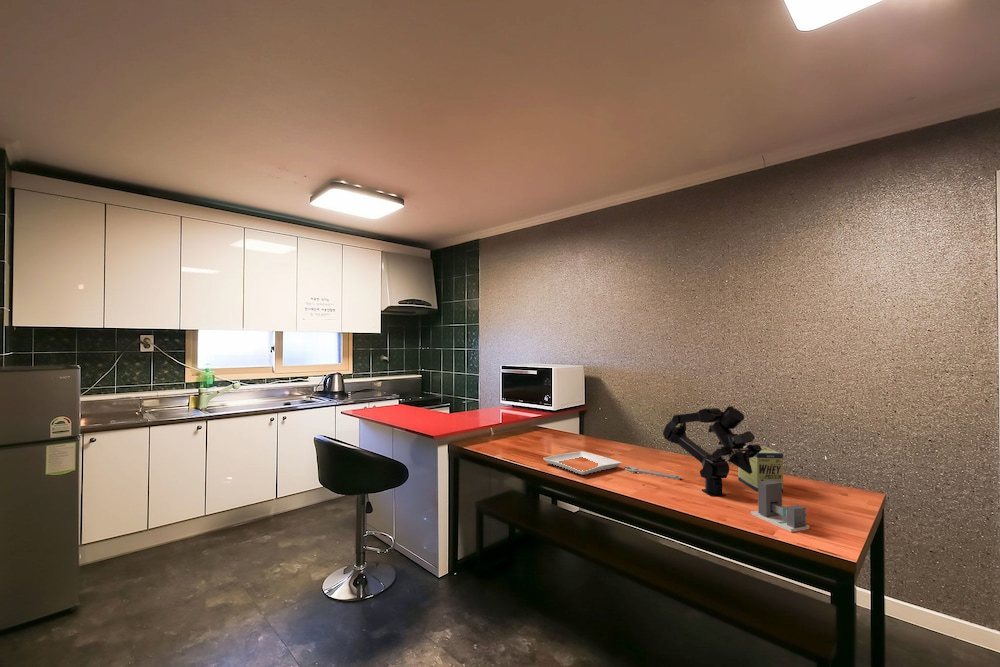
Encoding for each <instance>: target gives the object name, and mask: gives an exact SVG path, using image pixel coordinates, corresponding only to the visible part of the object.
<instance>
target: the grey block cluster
mask: <svg viewBox="0 0 1000 667" xmlns="http://www.w3.org/2000/svg"><path fill="white" fill-rule="evenodd" d="M770 510H771V511H773V512H776V513H778V514H780V515H783V516H784V517H787V525H788V526H790V527H792V528H800V527H806V525H807V508H806V507H805V506H803V505H799V504H793V505H788V506H787V505H783V504H782V505H781V504H778V503H776V502H770Z"/></svg>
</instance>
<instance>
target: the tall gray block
mask: <svg viewBox="0 0 1000 667" xmlns="http://www.w3.org/2000/svg"><path fill="white" fill-rule="evenodd" d="M757 494H758V495H757V496H758V497H757V503H758V504H757V507H758V509H757V510H759V513H760V514H762V515H764V516H773V515H779V514H778V513H776V512H773V511H771V510H770V502H776V503H778V504H781V505H783V492H782V483H781V482H778V481H775V480H770V481H761V482H758V492H757Z"/></svg>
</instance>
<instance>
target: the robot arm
mask: <svg viewBox="0 0 1000 667" xmlns="http://www.w3.org/2000/svg"><path fill="white" fill-rule="evenodd" d="M744 419H745V415H744V414H743V412H741V411H740V410H739V409H736V408H734V406H727V407H726V409H725V410H724V411H721V409H720V408H719V407H712V408H711V407H708V408H706V407H705V408H702V409H699V410H698V411H697V412H692V413H691V412H690V413H679V414H674V415H673V416H672V419H670V421H669V422H668V423H667V424H666V425H665V427H664V429H663V432H662V435H663V437H664V439H665V440H666V441H668V442H670V443H672V444H676V445H678V446H680V447H681V448H682V449H683V450H685V451H686V452H687V453H688V454H690V455H691V456H692V457H693V458H695V459H696V460H697V461H698V462H699V463H701V466H702V468H701V469H700V470H699V475H700V477H701V478H703V479H705V481H704V482H705V483H704V485H705V486H704V488H702V489H701V491H702V492H703V493H705V494H707V495H708V496H711V497H712V496H715V497H716V496H717V497H720V496H726V495H727V494H726V493H724V492H723V479H728V475H729V472H730V465H729V463H731V464H732V465H735V466H736V467H737V468H738V467H740V468H741V469H743V470H744V471H746V472H747V473H749V474H751V473H752V468H751V465H750V461H749V458H752V457H754V456H755V455H757V454H758V453H759V452H760V451H761V450H762V449H761V447H760V446H761V445H760V444H757V443H754V444H753V442H754V440H755V439H756V438H755V435H754V433H753V432H752V431H750V430H749V431H748V430H747V431H745V432H743V433H739V434H738V433H734V432H733V431H732V430H734V429H736V427H738V426H739V425H740V424H741V423H742V422H743V421H744ZM695 422H697V423H698V422H700V423H703V424H710V423H711V425H709V428H708V433H714V435H715V436H716V438H717V439H718V440H719V441H718V445H719V446H718V447H717V448H716V449H715V450H714V451H713V452H712V453H709V452H707V451H706V450H705V449H704V448H702V447H700V445H698V444H696V443H695V441H693V440H691V439H690V438H688V436H687V433H686V431H687V423H695ZM712 423H713V424H712ZM678 425H679V426H678ZM748 443H750V444H748ZM751 443H752V444H751ZM746 445H748V446H747V447H746V448H745V449H743V447H744V446H746ZM759 445H760V446H759ZM727 456H728V459H727V460H726V458H724V457H727Z"/></svg>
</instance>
